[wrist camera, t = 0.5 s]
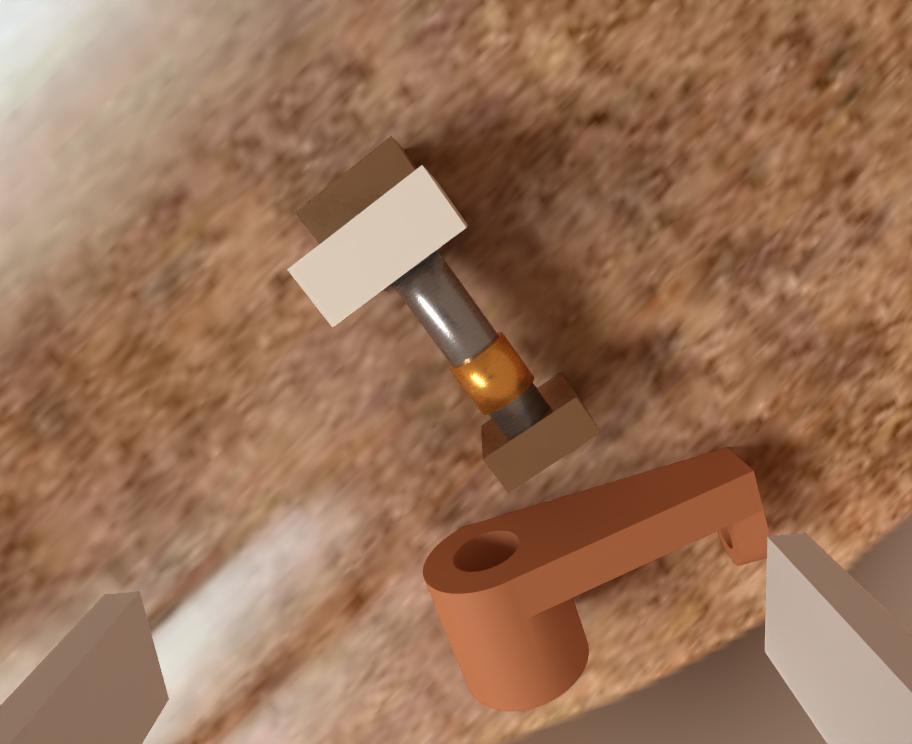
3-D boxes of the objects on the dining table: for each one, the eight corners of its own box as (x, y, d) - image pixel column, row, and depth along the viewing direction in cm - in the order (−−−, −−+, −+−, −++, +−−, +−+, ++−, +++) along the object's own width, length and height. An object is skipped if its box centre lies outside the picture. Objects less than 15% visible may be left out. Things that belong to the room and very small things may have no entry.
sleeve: (340, 255, 36) (287, 269, 26) (437, 181, 35) (422, 164, 24) (372, 297, 36) (332, 327, 26) (468, 225, 35) (466, 227, 25)
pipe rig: (321, 213, 36) (293, 212, 30) (403, 149, 35) (390, 135, 29) (503, 455, 39) (508, 494, 33) (582, 402, 38) (601, 434, 32)
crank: (466, 634, 43) (465, 726, 35) (427, 535, 41) (417, 609, 33) (753, 553, 41) (819, 631, 33) (725, 445, 39) (788, 501, 31)
